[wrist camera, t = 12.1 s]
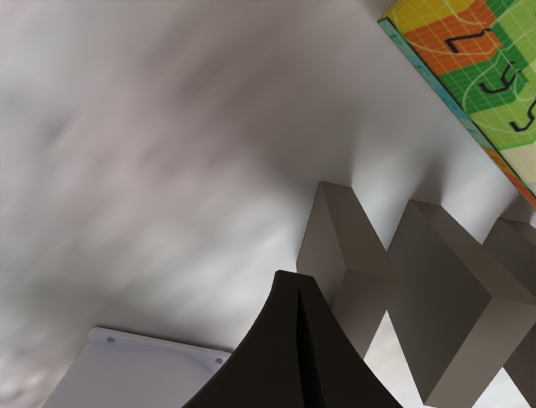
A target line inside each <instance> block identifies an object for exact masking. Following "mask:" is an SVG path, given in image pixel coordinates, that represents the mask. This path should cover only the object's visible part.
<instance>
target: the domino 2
mask: <svg viewBox="0 0 536 408" xmlns="http://www.w3.org/2000/svg"><path fill="white" fill-rule="evenodd" d="M387 254H388V256H389V258H390V260H391V262H392V263H393V265H394V267H395V269H396V271H397V273H398V275H399V276H400V278H401V280H400V282H399V284H398V286H397V288H396V290H395V293H394V295H393V297H392V299H391V301H390V303H389V305H388V308H387V311H388V314H389V317H390V319H391V322H392V324H393V327H394V330H395V332H396V335H397V337H398V340H399V343H400V345H401V348H402V350H403V353H404V356H405V358H406V361H407V363H408V366H409V369H410V371H411V374H412V376H413V379H414V382H415V384H416V387H417V389H418V392H419V395H420V397H421V400H422V402H423V405H426V406H431V407H436V408H472V406H473V405H474V404H475V402H476V401H477V400H478V398H479V397H480V396H481V394H482V393H483V392H484V390H485V389H486V388H487V386H488V385H489V384H490V382H491V381H492V380H493V378H494V377H495V376H496V374H497V373H498V372H499V370H500V369H501V368H502V366H503V365H504V364H505V362H506V361H507V360H508V358H509V357H510V356H511V354H512V353H513V352H514V350H515V349H516V348H517V346H518V345H519V344H520V342H521V341H522V340H523V338H524V337H525V336H526V334H527V333H528V332H529V330H530V329H531V328H532V326H533V325H534V324H535V322H536V298H535V297H534V296H533V295H532V294H531V293H530V292H529V291H528V290H527V289H526V288H525V287H524V286H523V285H522V284H521V283H520V282H519V281H518V280H517V279H516V278H515V277H514V276H513V275H512V274H511V273H510V272H509V271H508V270H506V269H505V268H504V267H503V266H502V265H501V264H500V263H499V262H498V261H497V260H496V259H495V258H494V257H493V256H492V255H491V254H490V253H489V252H488V251H487V250H486V249H485V248H484V247H483V246H482V245H481V244H480V243H479V242H478V241H477V240H475V239H474V238H473V237H472V236H471V235H470V234H469V233H468V232H467V231H466V230H465V229H464V228H463V227H462V226H461V225H460V224H459V223H458V222H457V221H456V220H455V219H454V218H453V217H452V216H451V215H450V214H449V213H448V212H447V211H446V210H444V209H443V208H442V207H441V206H438V205H433V204H429V203H424V202H419V201H414V200H409V201H408V204H407V206H406V208H405V211H404V213H403V216H402V218H401V220H400V223H399V225H398V227H397V230H396V232H395V235H394V237H393V239H392V242H391V244H390V246H389V249H388V251H387Z"/></svg>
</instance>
